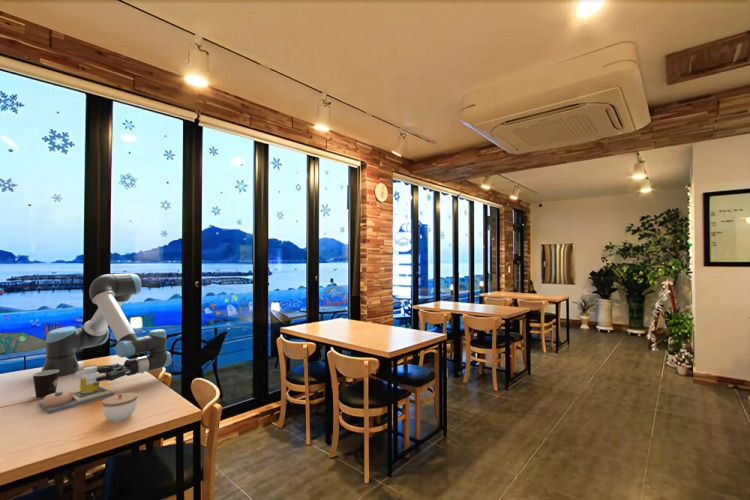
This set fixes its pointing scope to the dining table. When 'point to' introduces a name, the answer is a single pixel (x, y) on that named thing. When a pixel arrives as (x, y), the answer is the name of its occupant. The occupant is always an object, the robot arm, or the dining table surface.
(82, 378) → the pill bottle
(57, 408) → the board
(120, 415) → the lidded jar
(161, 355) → the robot arm
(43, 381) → the dark brown tapered cup
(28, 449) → the dining table surface
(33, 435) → the dining table surface
